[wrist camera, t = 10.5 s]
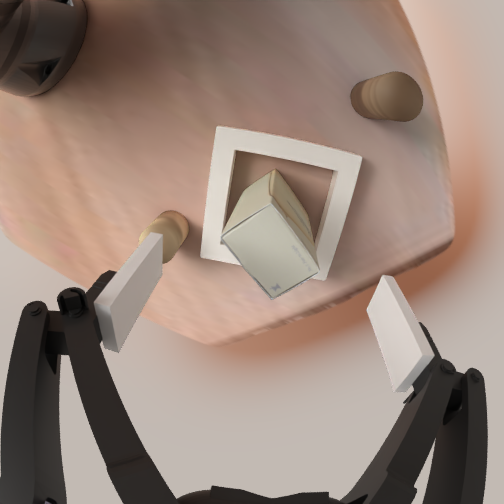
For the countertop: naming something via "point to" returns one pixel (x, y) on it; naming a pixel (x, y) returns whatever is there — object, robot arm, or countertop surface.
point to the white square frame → (285, 148)
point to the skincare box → (272, 236)
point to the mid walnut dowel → (388, 97)
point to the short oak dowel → (168, 232)
